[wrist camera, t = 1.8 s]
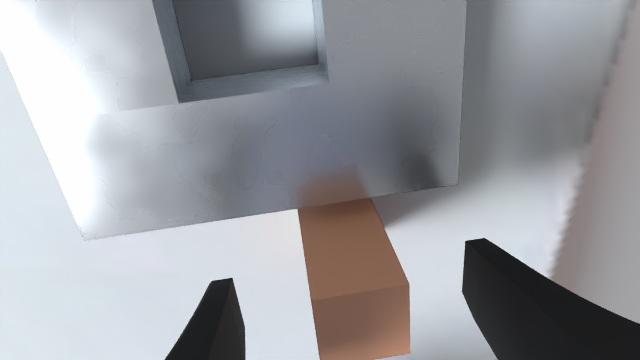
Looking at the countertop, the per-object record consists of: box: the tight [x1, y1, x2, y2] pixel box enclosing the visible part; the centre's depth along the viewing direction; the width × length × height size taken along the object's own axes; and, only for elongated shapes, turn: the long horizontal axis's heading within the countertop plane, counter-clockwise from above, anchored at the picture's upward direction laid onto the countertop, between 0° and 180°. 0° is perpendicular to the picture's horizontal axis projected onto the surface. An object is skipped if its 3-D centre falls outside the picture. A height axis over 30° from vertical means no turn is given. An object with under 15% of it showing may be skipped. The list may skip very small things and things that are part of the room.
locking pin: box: [298, 198, 410, 360], centre depth 15 cm, size 3×3×6 cm
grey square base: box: [0, 0, 467, 241], centre depth 12 cm, size 12×12×4 cm
